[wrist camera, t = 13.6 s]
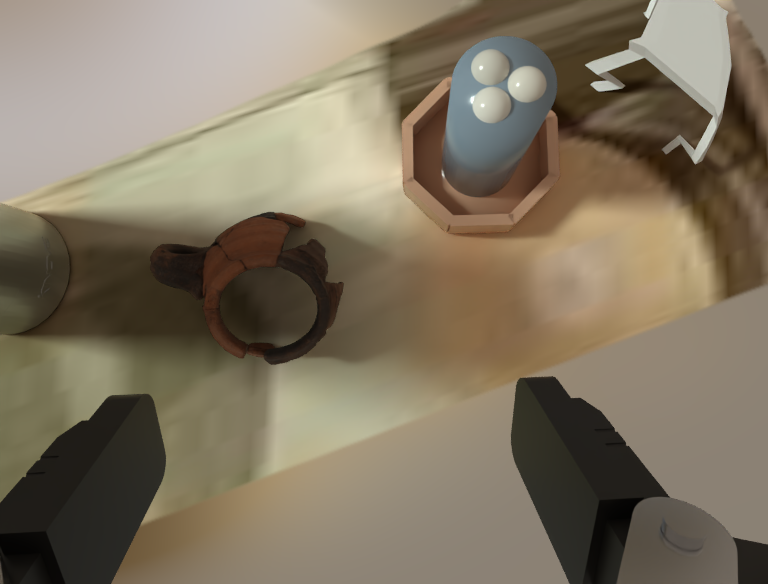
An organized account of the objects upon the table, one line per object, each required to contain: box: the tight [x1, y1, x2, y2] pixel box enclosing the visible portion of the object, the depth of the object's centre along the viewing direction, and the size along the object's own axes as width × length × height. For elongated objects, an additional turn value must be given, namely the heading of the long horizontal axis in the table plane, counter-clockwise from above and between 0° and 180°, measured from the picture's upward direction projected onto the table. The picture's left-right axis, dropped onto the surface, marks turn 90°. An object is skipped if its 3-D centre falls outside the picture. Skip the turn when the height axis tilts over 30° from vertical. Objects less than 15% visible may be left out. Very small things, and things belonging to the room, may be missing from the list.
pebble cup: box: [442, 36, 557, 197], centre depth 28 cm, size 5×5×11 cm
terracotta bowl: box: [402, 77, 560, 234], centre depth 32 cm, size 10×10×2 cm
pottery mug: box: [150, 212, 344, 365], centre depth 32 cm, size 12×10×8 cm
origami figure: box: [585, 0, 731, 165], centre depth 31 cm, size 12×8×5 cm
